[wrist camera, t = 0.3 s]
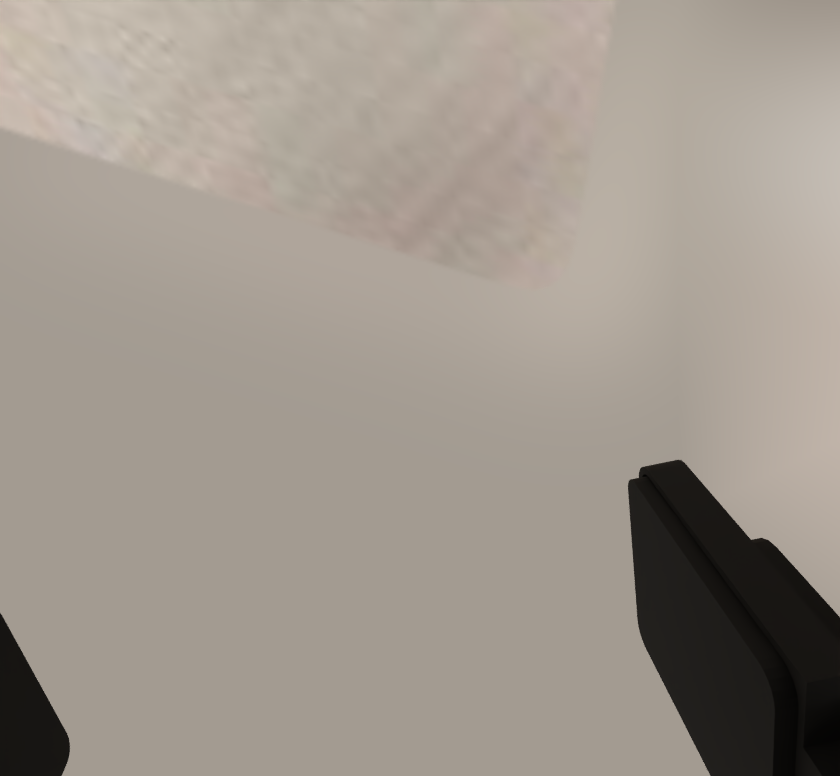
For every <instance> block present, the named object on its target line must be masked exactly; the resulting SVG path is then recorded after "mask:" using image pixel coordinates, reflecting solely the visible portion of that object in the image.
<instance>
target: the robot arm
mask: <svg viewBox="0 0 840 776" xmlns="http://www.w3.org/2000/svg"><path fill="white" fill-rule="evenodd" d="M628 492H629V505H630V521H631V535H632V548H633V562H634V576H635V590H636V604H637V617H638V625H639V630H640V634H641V637H642V640H643V643H644V645H645V647H646V649H647V651H648V653H649V655H650V657H651V659H652V661H653V663H654V665H655V667H656V669H657V671H658V673H659V675H660V677H661V679H662V681H663V683H664V685H665V687H666V689H667V691H668V693H669V694H670V697H671V699H672V700H673V703H674V704H675V706H676V708H677V710H678V712H679V714H680V716H681V718H682V720H683V722H684V724H685V726H686V728H687V730H688V732H689V734H690V736H691V738H692V740H693V742H694V744H695V746H696V748H697V750H698V752H699V754H700V756H701V758H702V760H703V762H704V763H705V766H706V768H707V770H708V771H709V773H710V775H711V776H840V617H839V616H838V615H837V614H836V613H835V612H834V610H833V609H832V608H831V607H830V606H829V605H828V604H827V603H826V601H825V600H824V599H823V598H822V597H821V596H820V595H819V594H818V593H817V591H816V590H815V589H814V588H813V587H812V586H811V585H810V584H809V583H808V582H807V580H806V579H805V578H804V577H803V576H802V575H801V574H800V573H799V572H798V570H797V569H796V568H795V567H794V566H793V565H792V564H791V563H790V562H789V561H788V560H787V558H786V557H785V556H784V555H783V554H782V553H781V552H780V551H779V550H778V548H777V547H776V546H774V545H773V544H772V543H771V542H770V541H769V540H766V539H763V538H759V539H754V540H751V539H750V538H749V537H748V536H747V535H746V534H745V532H744V531H743V530H742V529H741V528H740V527H739V525H737V523H736V522H735V521H734V520H733V519H732V517H731V516H730V515H729V514H728V513H727V512H726V510H725V509H724V508H723V507H722V506H721V505H720V503H719V502H718V501H717V500H716V499H715V498H714V497H713V496H712V494H711V493H710V492H709V491H708V489H707V488H706V487H705V486H704V485H703V484H702V483H701V481H700V480H699V479H698V478H697V477H696V476H695V474H694V473H693V472H692V471H691V470H690V469H689V468H688V467H687V465H686V464H685V463H684V462H683V461H681V460H675V461H670V462H665V463H660V464H655V465H651V466H645V467H642V468H641V469H640V472H639V478H636V479H631V480H630V481H629V483H628ZM69 752H70V743H69V738H68V735H67V733H66V731H65V729H64V727H63V726H62V724H61V722H60V720H59V718H58V717H57V715H56V713H55V711H54V709H53V707H52V706H51V704H50V702H49V700H48V698H47V696H46V695H45V693H44V691H43V689H42V687H41V686H40V684H39V682H38V680H37V678H36V677H35V675H34V673H33V671H32V669H31V667H30V666H29V664H28V662H27V660H26V658H25V657H24V655H23V653H22V651H21V649H20V647H19V646H18V644H17V642H16V640H15V639H14V637H13V635H12V633H11V631H10V629H9V627H8V626H7V624H6V622H5V620H4V618H3V617H2V615H1V614H0V776H61V775H62V773H63V771H64V768H65V766H66V764H67V761H68V758H69Z"/></svg>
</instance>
